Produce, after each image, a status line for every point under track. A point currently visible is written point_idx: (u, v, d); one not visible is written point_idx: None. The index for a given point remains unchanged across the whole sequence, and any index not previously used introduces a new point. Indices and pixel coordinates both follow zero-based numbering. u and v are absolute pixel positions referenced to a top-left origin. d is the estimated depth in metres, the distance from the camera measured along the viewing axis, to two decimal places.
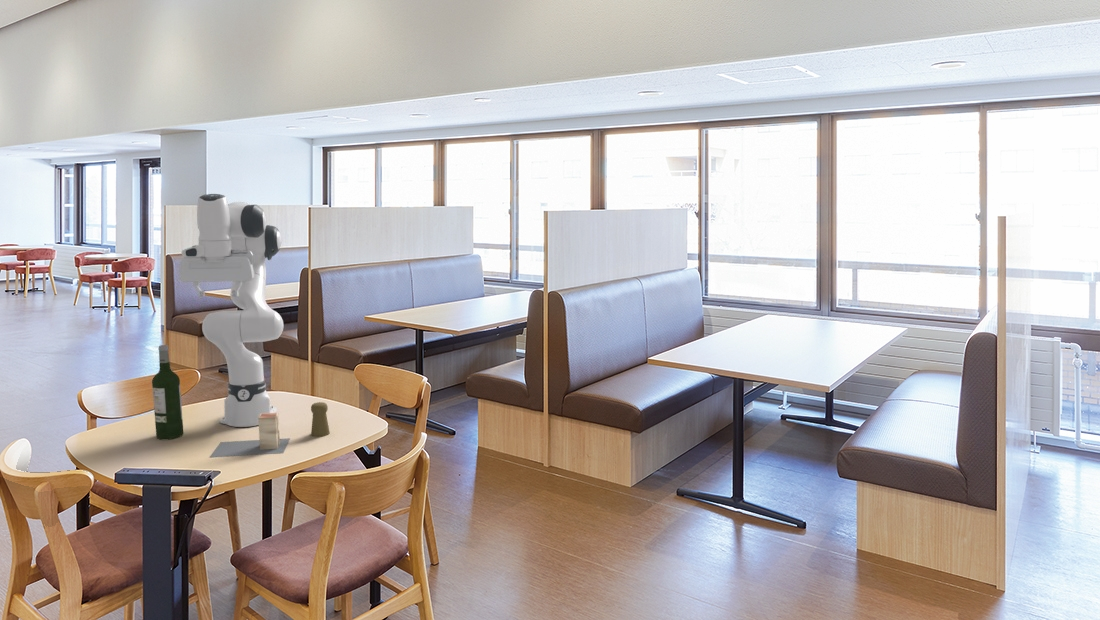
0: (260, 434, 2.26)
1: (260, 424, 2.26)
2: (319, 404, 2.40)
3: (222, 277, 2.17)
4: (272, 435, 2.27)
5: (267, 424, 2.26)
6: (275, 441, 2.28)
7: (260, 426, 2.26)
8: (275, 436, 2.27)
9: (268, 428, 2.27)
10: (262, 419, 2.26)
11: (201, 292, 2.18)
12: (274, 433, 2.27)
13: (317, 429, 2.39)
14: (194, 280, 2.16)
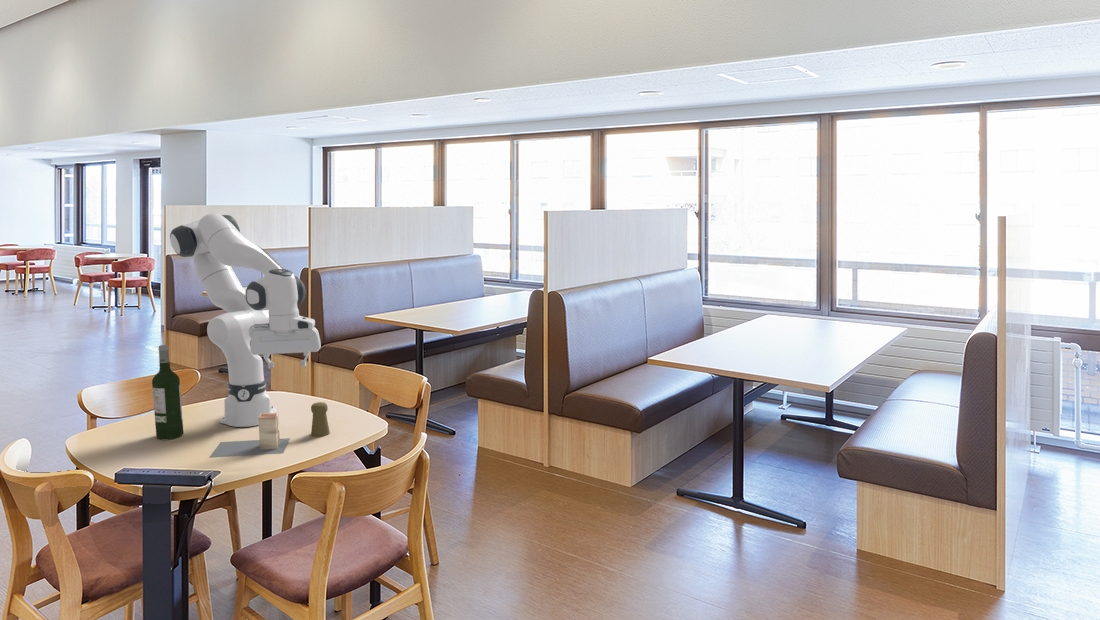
0: (260, 434, 2.26)
1: (260, 424, 2.26)
2: (319, 404, 2.40)
3: None
4: (272, 435, 2.27)
5: (267, 424, 2.26)
6: (275, 441, 2.28)
7: (260, 426, 2.26)
8: (275, 436, 2.27)
9: (268, 428, 2.27)
10: (262, 419, 2.26)
11: None
12: (274, 433, 2.27)
13: (317, 429, 2.39)
14: None
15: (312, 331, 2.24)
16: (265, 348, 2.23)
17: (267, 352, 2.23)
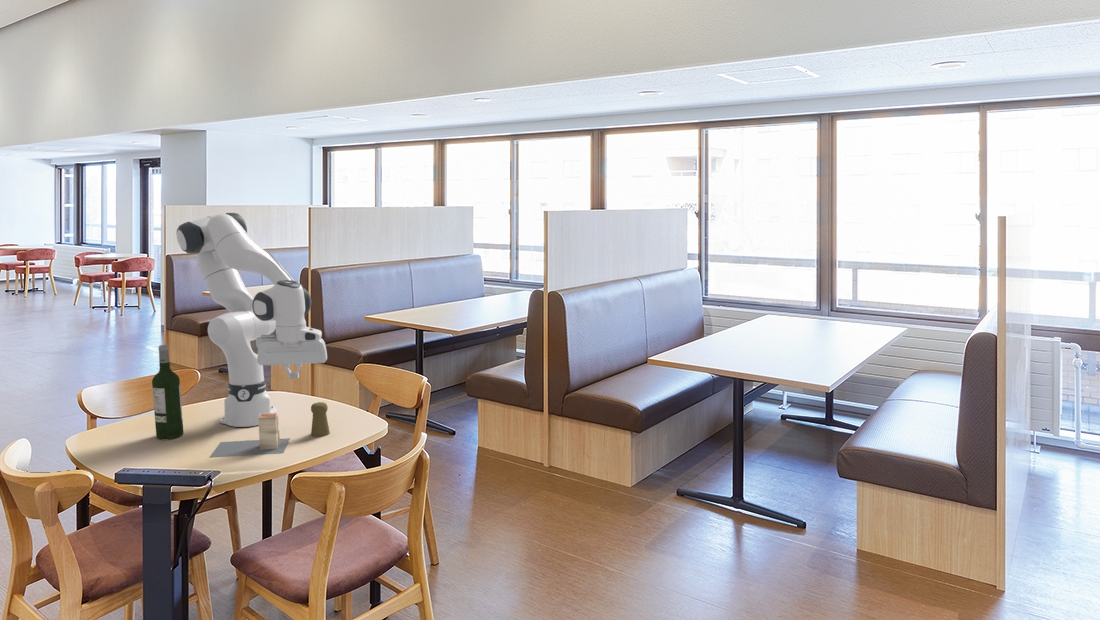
0: (260, 434, 2.26)
1: (260, 424, 2.26)
2: (319, 404, 2.40)
3: None
4: (272, 435, 2.27)
5: (267, 424, 2.26)
6: (275, 441, 2.28)
7: (260, 426, 2.26)
8: (275, 436, 2.27)
9: (268, 428, 2.27)
10: (262, 419, 2.26)
11: None
12: (274, 433, 2.27)
13: (317, 429, 2.39)
14: None
15: (319, 342, 2.25)
16: (272, 359, 2.24)
17: (274, 363, 2.25)
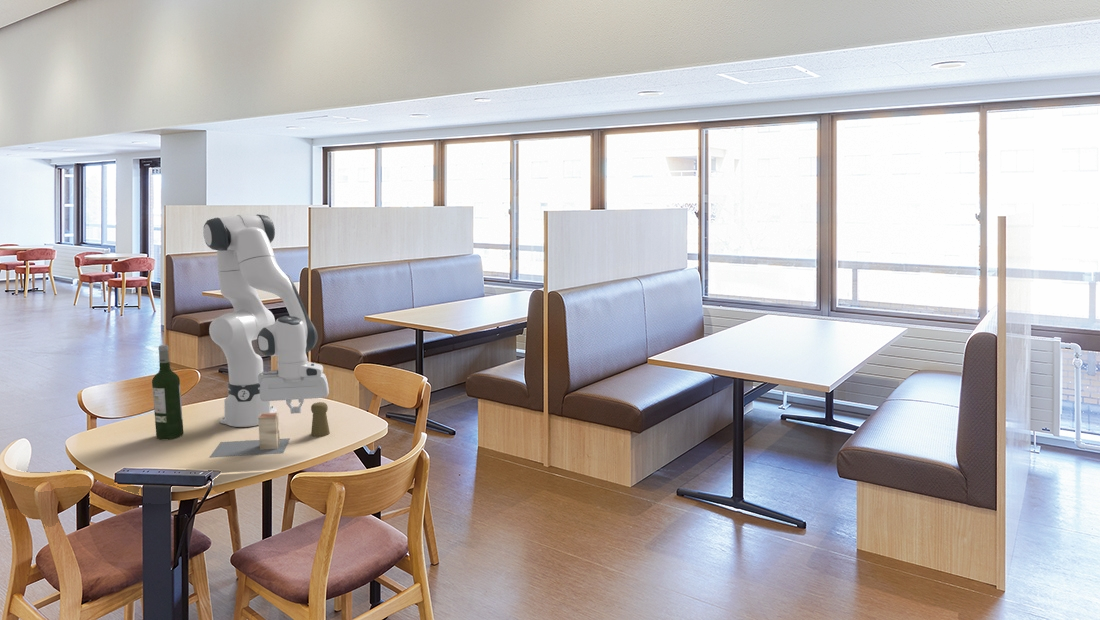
0: (260, 434, 2.26)
1: (260, 424, 2.26)
2: (319, 404, 2.40)
3: None
4: (272, 435, 2.27)
5: (267, 424, 2.26)
6: (275, 441, 2.28)
7: (260, 426, 2.26)
8: (275, 436, 2.27)
9: (268, 428, 2.27)
10: (262, 419, 2.26)
11: None
12: (274, 433, 2.27)
13: (317, 429, 2.39)
14: None
15: (320, 378, 2.27)
16: (274, 395, 2.26)
17: (276, 399, 2.26)
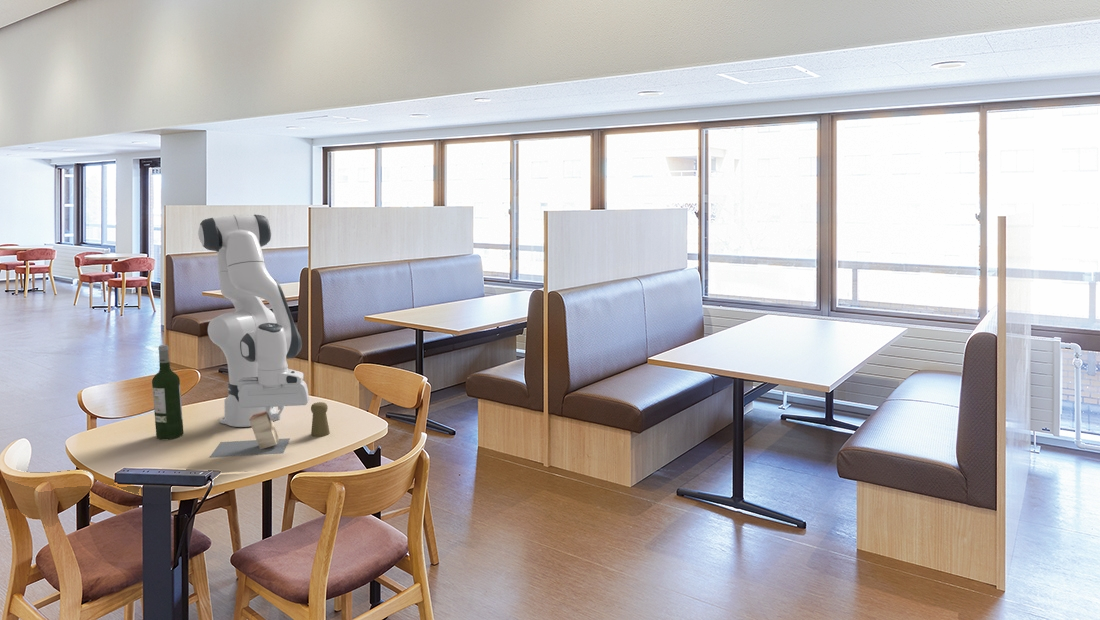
0: (256, 434, 2.26)
1: (253, 425, 2.26)
2: (319, 404, 2.40)
3: None
4: (267, 433, 2.27)
5: (260, 423, 2.26)
6: (272, 438, 2.27)
7: (253, 427, 2.26)
8: (271, 433, 2.27)
9: (262, 427, 2.26)
10: (253, 419, 2.25)
11: None
12: (269, 430, 2.27)
13: (317, 429, 2.39)
14: None
15: (300, 385, 2.27)
16: (253, 402, 2.25)
17: (255, 405, 2.26)
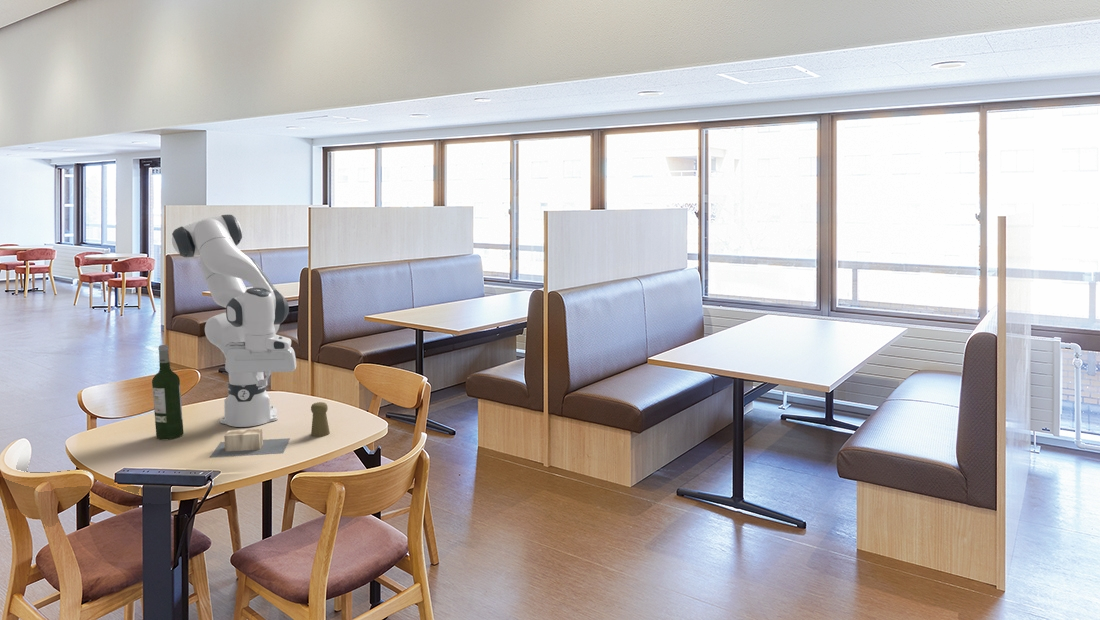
0: (243, 449, 2.26)
1: (232, 449, 2.25)
2: (319, 404, 2.40)
3: None
4: (244, 438, 2.26)
5: (232, 443, 2.25)
6: (251, 435, 2.26)
7: (234, 449, 2.26)
8: (245, 435, 2.26)
9: (236, 442, 2.25)
10: (226, 447, 2.25)
11: None
12: (241, 436, 2.25)
13: (317, 429, 2.39)
14: None
15: (288, 351, 2.24)
16: (240, 367, 2.23)
17: (242, 371, 2.23)
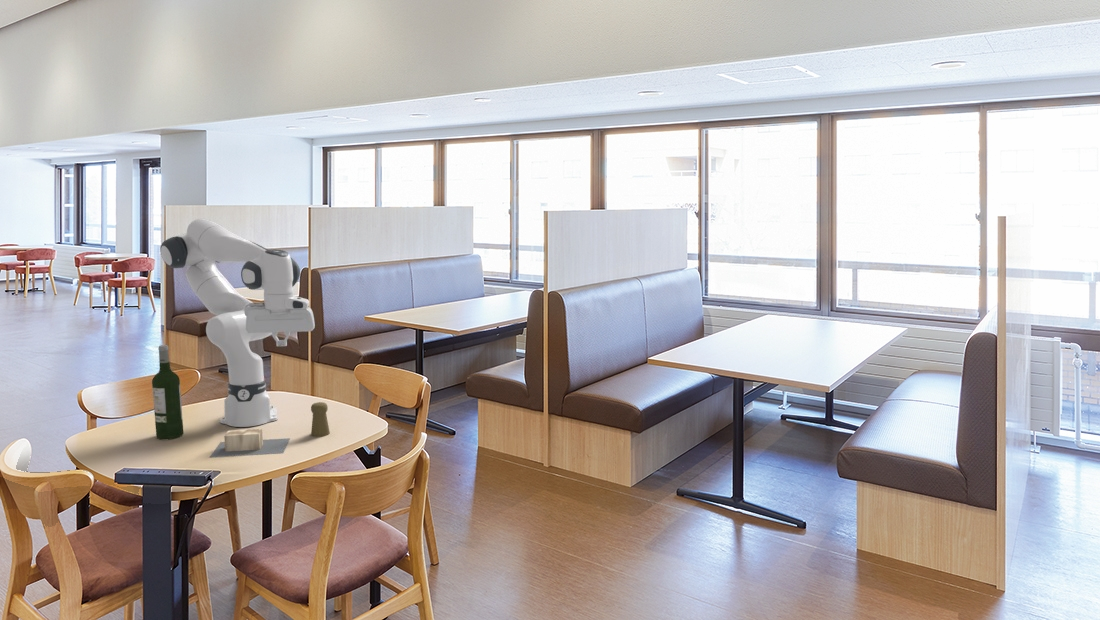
0: (243, 449, 2.26)
1: (232, 449, 2.25)
2: (319, 404, 2.40)
3: None
4: (244, 438, 2.26)
5: (232, 443, 2.25)
6: (251, 435, 2.26)
7: (234, 449, 2.26)
8: (245, 435, 2.26)
9: (236, 442, 2.25)
10: (226, 447, 2.25)
11: None
12: (241, 436, 2.25)
13: (317, 429, 2.39)
14: None
15: (306, 311, 2.29)
16: (260, 327, 2.28)
17: (262, 331, 2.28)
